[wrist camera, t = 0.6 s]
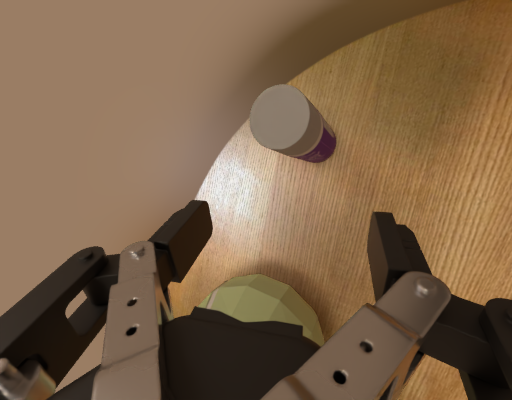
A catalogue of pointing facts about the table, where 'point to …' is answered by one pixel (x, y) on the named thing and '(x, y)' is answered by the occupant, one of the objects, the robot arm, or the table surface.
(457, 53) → the table surface
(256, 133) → the container
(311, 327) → the decorative sphere
